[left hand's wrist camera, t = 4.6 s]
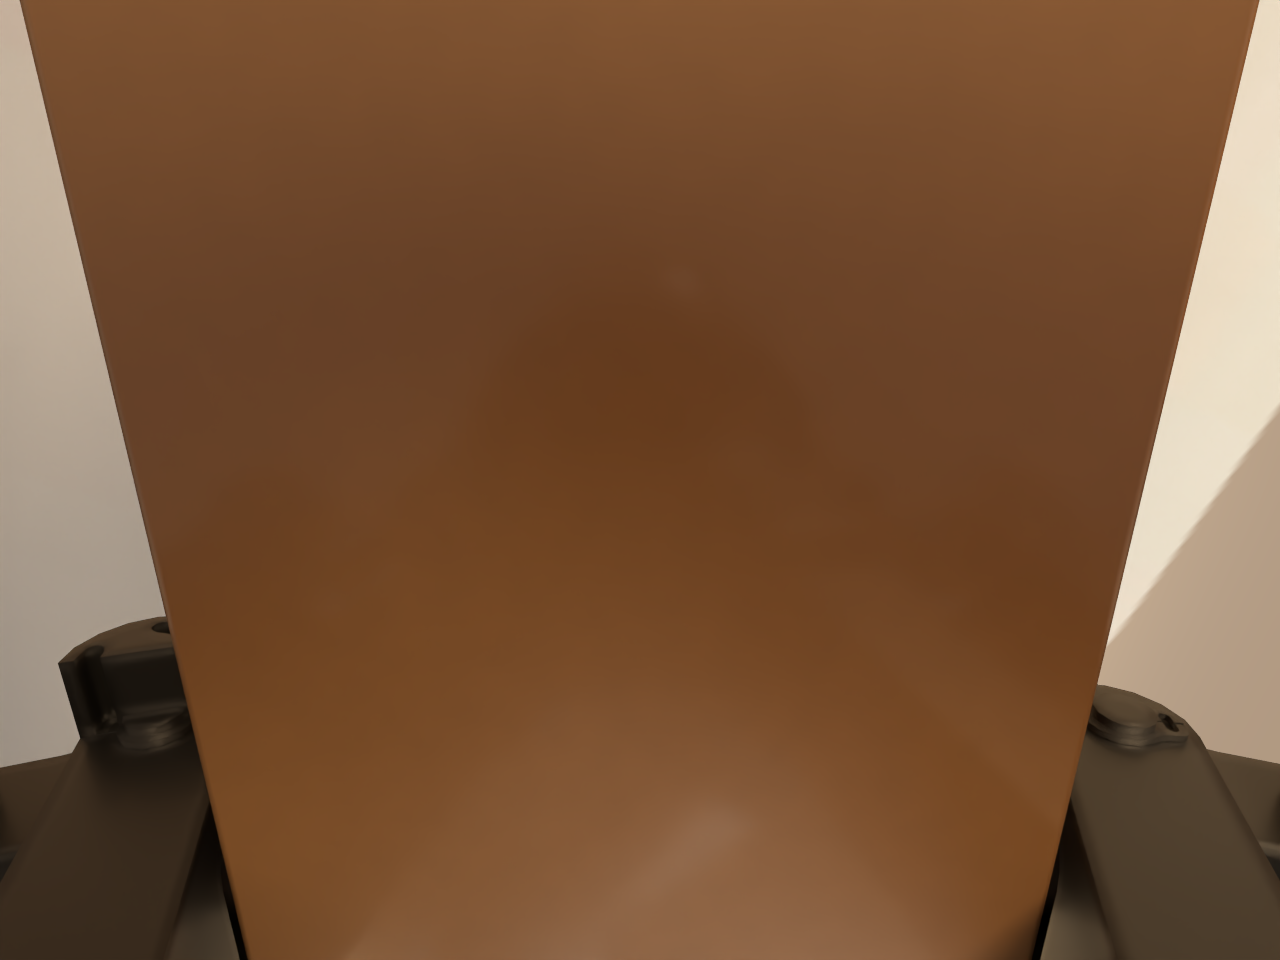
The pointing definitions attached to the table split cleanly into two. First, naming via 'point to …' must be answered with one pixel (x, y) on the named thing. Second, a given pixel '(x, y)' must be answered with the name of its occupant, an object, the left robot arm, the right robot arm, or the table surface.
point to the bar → (639, 443)
